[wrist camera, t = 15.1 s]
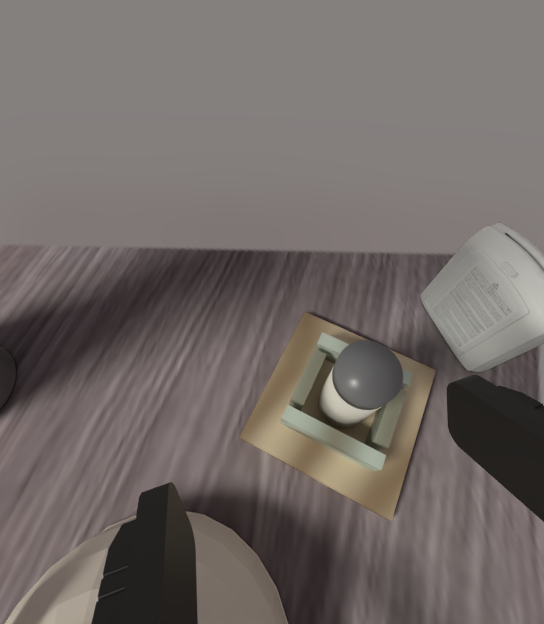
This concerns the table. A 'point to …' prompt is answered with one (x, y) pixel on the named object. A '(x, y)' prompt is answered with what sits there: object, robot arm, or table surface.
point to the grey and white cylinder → (360, 383)
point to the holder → (328, 438)
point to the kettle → (209, 574)
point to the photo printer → (490, 298)
